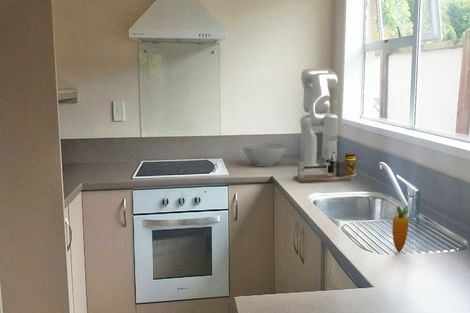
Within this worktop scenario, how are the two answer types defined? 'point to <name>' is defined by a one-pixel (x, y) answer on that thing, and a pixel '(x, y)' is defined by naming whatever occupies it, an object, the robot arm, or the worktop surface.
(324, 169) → the sleeve
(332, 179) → the rod slider rig
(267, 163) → the decorative bowl
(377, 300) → the worktop surface
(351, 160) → the condiment
